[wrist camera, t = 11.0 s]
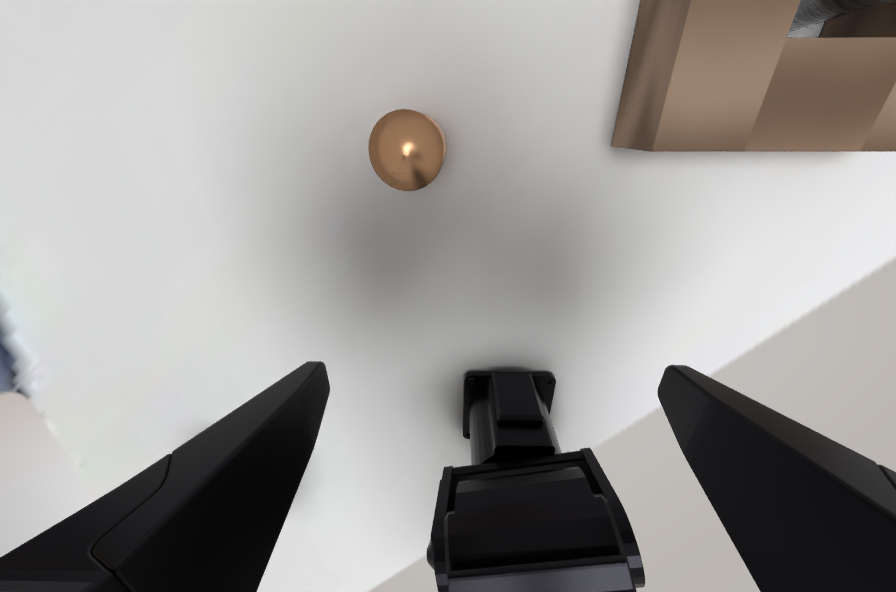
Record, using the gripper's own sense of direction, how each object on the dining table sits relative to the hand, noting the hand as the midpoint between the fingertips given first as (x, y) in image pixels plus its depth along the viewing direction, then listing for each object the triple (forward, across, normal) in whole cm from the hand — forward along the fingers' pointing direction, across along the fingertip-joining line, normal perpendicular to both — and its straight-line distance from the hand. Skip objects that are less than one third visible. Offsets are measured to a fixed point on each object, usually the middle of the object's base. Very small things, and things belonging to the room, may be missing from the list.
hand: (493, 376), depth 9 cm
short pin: (+12, +3, -5) cm, 13 cm away
